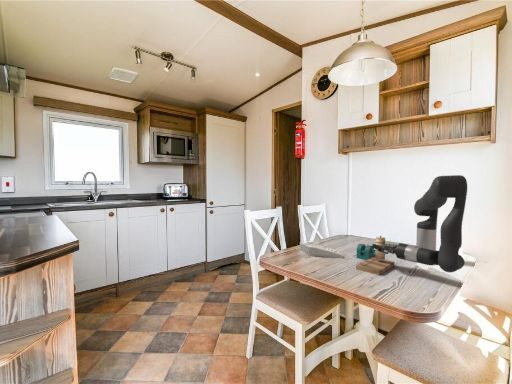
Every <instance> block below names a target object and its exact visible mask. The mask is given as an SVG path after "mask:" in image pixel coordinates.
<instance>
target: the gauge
mask: <svg viewBox="0 0 512 384" xmlns="http://www.w3.org/2000/svg"><path fill="white" fill-rule="evenodd" d="M375 244H376V245H382V246H384V245H385V244H386V237H384V236H382V235H379V236H376V237H375ZM375 250H376V257H375V258H376V259H378V260H386V254H385V253H382V252H379V251H378V249H375Z"/></svg>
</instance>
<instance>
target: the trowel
mask: <svg viewBox="0 0 512 384" xmlns="http://www.w3.org/2000/svg"><path fill="white" fill-rule="evenodd" d="M299 250H300V251H301V250H302V251H301V252H303V253H304V252H305V253H304V254H306V255H307V254H308V256H309V255H311V257H326V258H341V259H344V254H342V253H341V252H340V251H338V250H337V249H335V248H332V247H327V246H321V245H314V244H312V243H311V244H310V243H307V242H303V241H300V242H299Z"/></svg>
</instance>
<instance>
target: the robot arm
mask: <svg viewBox="0 0 512 384" xmlns="http://www.w3.org/2000/svg"><path fill="white" fill-rule="evenodd" d="M467 194H468V181H467V179H466V177H465V176H464V175H460V174H459V175H438V176H436V177H435V178H433V180H432V182H431V185H430V187H429V188H428V190H427V191H426V192H425V193H424V194H423V196H421V197H420V198H419V199H417V200H416V201H415V203H414V206H413V210H414V211H413V212H414V213H415V215H417V216H419V217H428V218H427V219H425V220H422V221H418V222H417V224H416V240H415V241H416V245H412V244H407V243H402V242H400V243H398V244H397V243H396V244H395V243H385V245H384V246H382V245H376V243H372V244H371V246H372V248H374V250H376V249H378V251H379V252H382V253H385V255H388V254H391V255H395V256H396V258H397V259H399V260H403V261H408V262H411V263H418V264H421V265H426V266H438V267H440V269H441V270H442V271H444V272H445V273H454V272H457V271H459V270H461V269H462V268H463V267H464V266H465V259H464V258H463V256H462V255H460V254H459V251H460V249H461V248H462V245H463V244H462V243H463V241H462V240H463V232H462V231H463V220H464V215H465V208H466V204H467V203H466V202H467ZM448 198H449V199H453V198H454V204H453V207H452V208H451V210H450V211H449V214H448V215H447V216H446V217H445V219H443V221H442V224H441V225H440V232H439V233H440V244H439V249H438V250H437V226H438V216H439V209H440V208H442V207H443V206H444V205H446V203H447V201H448Z"/></svg>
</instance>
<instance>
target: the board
mask: <svg viewBox="0 0 512 384" xmlns="http://www.w3.org/2000/svg"><path fill="white" fill-rule="evenodd" d="M393 267H395V261H394V260H393V261H392V260H387V259H385V260H378V259H376V258H375V257H372V258H370V259H368V260H363V261H361V262H360V263H358V264H356V265H355V269H356V270H358V271H362V272H366V273H369V274H373V275H377V276H380V275H382V274H384V273H386V272H387V271H388V270H390V269H392V268H393Z"/></svg>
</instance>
